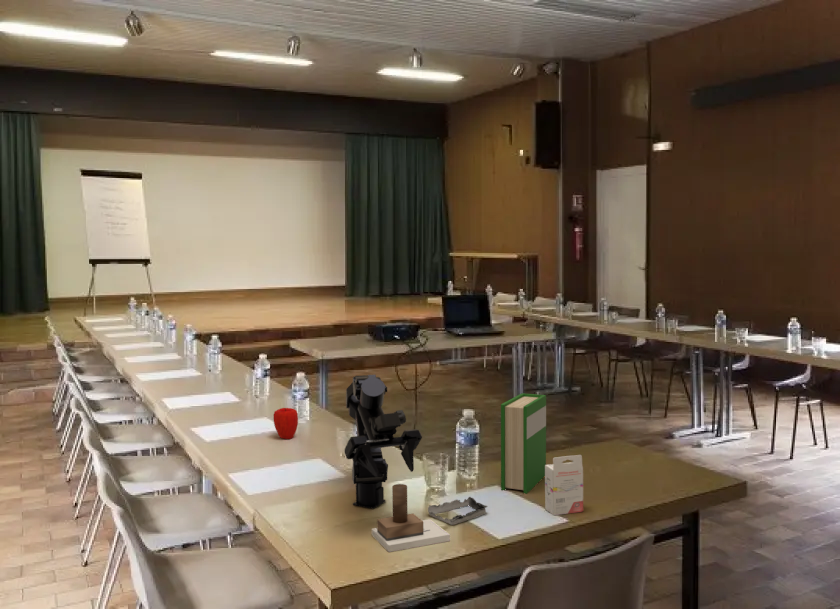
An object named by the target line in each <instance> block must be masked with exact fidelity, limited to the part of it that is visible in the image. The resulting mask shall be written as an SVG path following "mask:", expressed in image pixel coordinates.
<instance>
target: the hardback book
mask: <svg viewBox="0 0 840 609" xmlns="http://www.w3.org/2000/svg"><path fill="white" fill-rule="evenodd" d="M545 465H547V394H546V395H545V394H535V393H534V394H533V393H524V392H523V393H519V394H518V395H516V396H514V397H513V398H511V399H509V400H506V401H505V402H503V403H501V404H500V490H501V491H503V490H504V491H506V490H507V489H513V490H520V491H523V494H524V493H525V494H526V495H528V494H529V493H530V492H531V490H533V489H534V488H535V487H536V486H537V485H538V484H539V483H540V482H541V481H542V480H543V479H544V478H543V477H544V476H545ZM542 478H543V479H542ZM541 479H542V480H541ZM540 480H541V481H540ZM539 481H540V482H539ZM538 482H539V483H538ZM537 483H538V484H537ZM536 484H537V485H536ZM535 485H536V486H535ZM534 486H535V487H534ZM533 487H534V488H533ZM532 488H533V489H532ZM505 489H506V490H505Z"/></svg>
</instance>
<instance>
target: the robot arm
mask: <svg viewBox="0 0 840 609" xmlns="http://www.w3.org/2000/svg"><path fill="white" fill-rule="evenodd" d="M376 375H377V374H366V375H355V376H353V377H352V382H351V383H350V384H349V386H348V387H347V388H346V389H345V391H346V392H345V407H346V409H347V410H348V415H349V416H350V417H351V418H352V419H353V420H355V427H356V436H350V438H348V441H347V443H346V445H345V448H344V454H345V457H346V459H347V460H352V469H351V477H352V478H351V479H352V483H353V485H355V501H354V502H352V505H353V506H356V507H360V508H365V509H366V508H367V509H373V510H374V509H376V508H377V507H379V506H381V505H382V504H384V503H386V499H384V497H385V496H384V494H385V493H384V491H385V490H384V487H383V483H387V481H388V470H389V464H388V463H387V461H386V459H385V458H384V456H383V452H382V448H390V447H399V450H400V451H401V453H400V455H401V457H402V459H403V460H404V463H405V465H406V466H407V468H408V469H409V471H410V473H413V471H414V469H415V468H414V467H415V466H414V451H416V449H417V447H418V446H419V444H420V442H421V441H422V439H423V435H422V432H421V431H420V429H417V428H415V429H407V430H403V432H402V434H401V436H397V437H396V436H395V437H394V435H396V434H397V431H398V430H397V428H398V427H401V426H402V425H404V424H405V423H406V422H407V417H406V414H405V413H404V410H403V409H399V410H395V411H394V412H390V413H385V412H384V410H383V407H382V406H383V404H384V398H385V395H386V393H388V387H387V386H386V385H385V383H384V381H382V380H381V377H380V376H376Z"/></svg>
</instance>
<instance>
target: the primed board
mask: <svg viewBox="0 0 840 609" xmlns="http://www.w3.org/2000/svg"><path fill="white" fill-rule="evenodd" d="M421 520H422V521H423V535H418V536H413V537H407V538H401V539H395V540H390V541H386V540H385V539H384V538H383V537H382V536H381V535H380V534H379V533H378V532H377V527H374V528H371V536H372V537H373V538H374V539H375V541H376V542H378V543H379V544H380V545H381V546H382V547H383V548H384V549H385V550H386V551H387V552H388V553H390V552H396V551H402V550H407V549H408V550H409V549H414V548H418V547H419V548H420V547H424V546H429V545H435V544H441V543H446V542H450V540H451V534H450V533H448V531H446V530H445V529H443V528H442V527H441V526H440V525H438V524H437V523H436V522H434V521H433V520H432V519H431V518H429V519H421Z"/></svg>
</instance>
